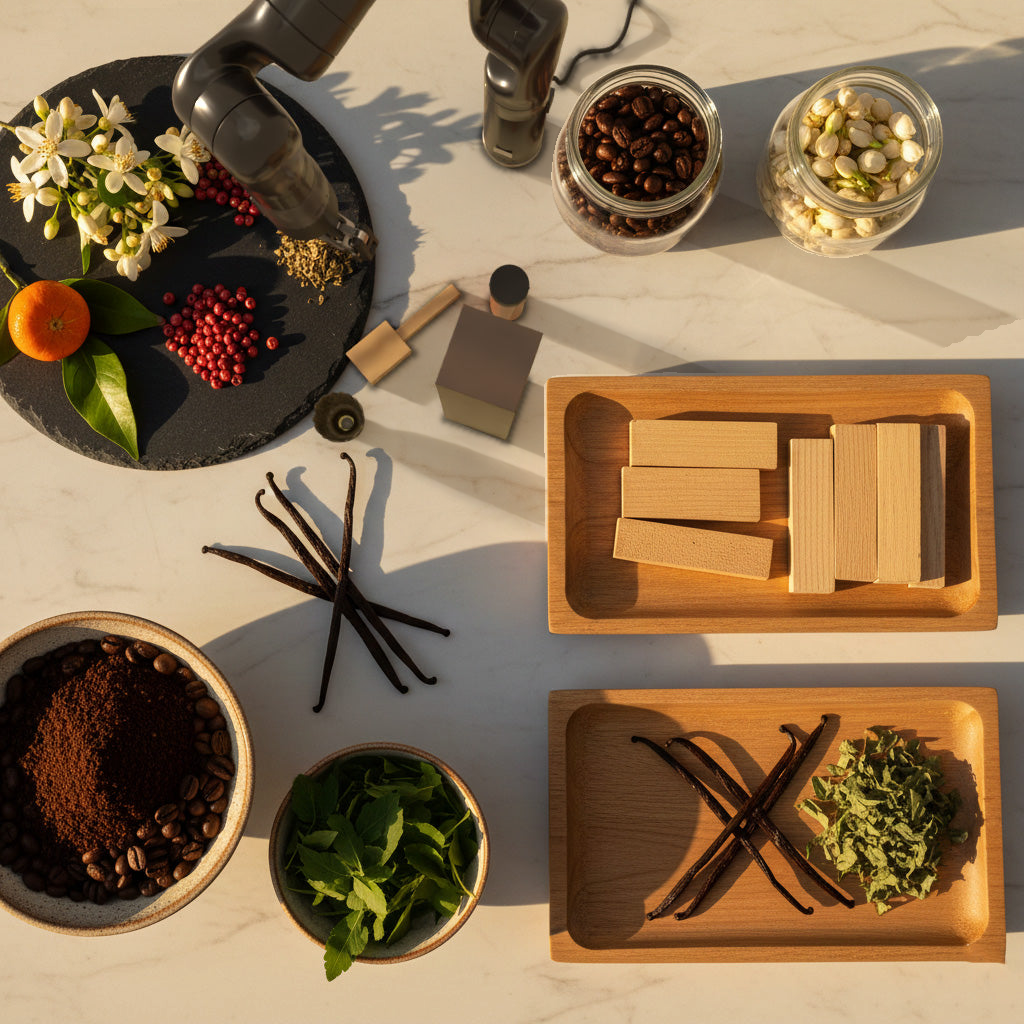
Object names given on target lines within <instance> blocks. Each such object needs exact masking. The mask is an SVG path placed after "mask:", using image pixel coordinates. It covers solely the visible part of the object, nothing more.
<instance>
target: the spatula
mask: <svg viewBox="0 0 1024 1024" xmlns="http://www.w3.org/2000/svg"><path fill="white" fill-rule="evenodd" d="M459 297H461V292H459V290H458V289H457V288H456V286H454V284H452V283H451V284H450V285H448V286H447V287H446V288H444V289H443V290H442V291H441V292H439V294H438V295H436V296H435V297H434V298H433V299H431V300H430V301H429V302H427V303H426V304H425V305H424V306H423V307H422V308H421V309H419V310H418V311H417V312H416V313H414V314H413V315H412V316H411V317H410V318H409V319H408V320H406V321H405V322H404V323H402V325H400V326H399V327H398V328H397V329H394V328H393V327H392V325H390V323H389V322H388V321H387V320H384V321H383V322H382V323H381V324H379V325H378V326H377V327H376V328H374V329H373V330H372V331H371V332H370V333H368V334H367V335H366V336H365V337H363V338H362V339H361V340H360V341H359V342H358V343H357V344H355V345H353V346H352V348H351V349H349V350H348V351H347V352H346V353H345V355H346V356H347V357H348V358H349V360H350V362H352V363H353V364H354V366H355V367H356V368H357V369H358V371H360V373H361V374H362V375H363V376H364V377H365V378H366V380H367V381H368V383H370V384H371V385H372V386H374V385H376V384H377V383H378V382H379V381H381V380H382V379H383V378H384V377H385V376H386V375H388V374H389V373H390V372H391V371H392V370H394V369H395V368H396V367H397V366H398V365H400V364H401V363H402V362H403V361H404V360H406V359H407V358H408V357H409V356H410V355H411V354H413V351H412V349H411V347H410V346H409V345H408V344H407V343H406V342H407V341H408V340H410V338H412V337H413V336H414V335H415V334H416V333H418V332H419V331H420V330H421V329H423V328H424V327H425V326H426V325H427V324H429V323H430V322H431V321H432V320H433V319H435V318H436V317H437V316H438V315H439V314H440V313H442V312H443V311H444V310H445V309H447V308H448V307H449V306H450V305H452V303H454V302H455V301H456V300H457V299H458V298H459Z"/></svg>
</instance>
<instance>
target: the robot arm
mask: <svg viewBox="0 0 1024 1024" xmlns="http://www.w3.org/2000/svg"><path fill="white" fill-rule="evenodd" d="M376 1H377V0H252V1H251V2H250V3H249V5H247V6H246V8H244V9H243V10H242V11H241V12H240V13H238V14H237V15H236V16H235V17H234V18H233V19H232V20H229V22H228V23H227V24H226V25H225V26H223V27H222V28H221V29H220V30H219V31H218V32H217V33H216V34H214V35H213V36H212V37H211V38H209V39H208V40H207V41H205V42H204V43H203V44H201V45H200V46H199V47H197V48H196V50H194V51H193V52H192V53H191V54H190V55H189V56H188V57H187V58H185V60H184V61H183V63H182V64H181V65H180V66H179V68H178V70H177V72H176V74H175V77H174V80H173V85H172V90H171V101H172V107H173V109H174V112H175V114H176V116H177V117H178V119H179V121H181V122H182V124H183V125H184V126H185V127H186V128H187V129H188V130H189V131H190V132H191V134H193V136H195V138H196V139H197V140H198V141H199V142H200V143H201V144H202V145H203V146H204V147H205V149H206V150H208V152H209V153H210V154H211V155H212V156H213V158H215V159H216V160H217V161H218V162H219V163H220V164H221V166H222V167H223V168H224V169H226V171H227V172H228V173H229V174H230V175H231V176H232V177H233V178H234V179H235V180H236V181H237V183H238V184H239V185H240V186H241V187H242V188H243V190H245V192H246V193H247V194H248V195H249V196H250V197H249V201H250V202H251V203H252V204H253V206H254V207H255V208H256V209H257V211H258V212H259V213H260V214H261V215H263V217H264V218H267V219H268V220H269V221H270V222H271V223H272V225H274V226H275V228H276V229H277V230H278V231H280V232H281V233H282V234H283V235H284V236H285V237H288V238H289V239H291V240H295V241H299V242H310V241H314V240H318V241H323V242H325V243H326V244H328V245H329V246H331V247H332V248H334V249H335V250H339V251H346V252H348V253H349V254H350V255H351V257H352V258H353V260H354V261H355V262H358V263H360V264H361V263H362V262H363V261H364V262H365V261H366V262H368V261H370V262H372V261H373V258H374V256H375V253H376V251H377V249H378V246H379V244H380V241H379V239H378V238H377V236H376V235H375V234H374V232H373V230H372V229H371V228H370V227H369V226H368V225H367V223H364V222H358V225H357V227H355V226H356V225H355V223H354V222H353V221H351V220H350V219H348V218H347V217H345V216H344V215H343V214H342V213H340V212H339V202H338V197H337V194H336V191H335V190H334V188H333V186H332V185H331V183H330V182H329V180H328V178H327V177H326V175H325V174H324V172H323V171H322V169H321V167H320V166H319V164H318V163H317V162H316V160H315V159H314V158H313V157H312V156H311V154H309V153H308V151H307V150H306V148H305V147H304V144H303V135H302V133H301V130H300V128H299V127H298V125H297V124H296V123H295V120H294V119H293V118H292V117H291V115H290V114H289V113H288V111H287V110H286V109H285V108H284V107H283V106H282V105H281V103H279V102H278V100H277V99H276V98H275V97H274V96H273V95H272V94H271V92H269V91H268V90H267V89H266V88H265V87H264V85H263V84H261V82H260V81H259V80H258V79H257V78H256V77H257V75H258V74H259V73H260V72H261V71H262V70H263V69H265V68H266V67H268V66H270V65H272V64H275V65H276V66H278V67H279V68H280V69H282V70H283V71H284V72H286V73H287V74H289V75H291V76H292V77H294V78H296V79H298V80H300V81H303V82H306V83H313V82H316V81H318V80H319V79H320V78H321V77H323V75H324V74H325V73H326V72H327V71H328V69H330V66H331V65H332V64H333V62H334V61H335V60H336V57H338V55H339V54H340V53H341V51H342V49H344V47H345V45H346V44H347V43H348V41H349V40H350V39H351V37H352V36H353V34H354V32H355V31H356V30H357V28H358V27H359V25H360V24H361V23H362V21H363V20H364V18H365V17H366V15H367V14H368V12H370V10H371V8H372V7H373V6H374V4H375V3H376ZM637 3H638V0H631V1H630V3H629V5H628V9H627V14H626V17H625V22H624V25H623V28H622V31H621V33H620V35H619V37H618V39H616V41H615V42H614V43H612V44H611V45H610V46H606V47H601V48H599V47H598V48H589V49H585V50H582V51H580V52H579V53H577V54H576V55H575V56H574V57H573V58H572V60H571V61H570V63H569V64H568V67H567V69H566V71H565V73H564V76H563V78H562V79H560V78H559V77H558V76H557V75H555V73H556V71H557V68H558V64H559V62H560V56H561V51H562V48H563V45H564V40H565V38H566V37H565V36H566V34H567V28H568V25H569V10H568V7H567V5H566V4H565V2H564V1H563V0H467V8H468V9H467V10H468V20H469V21H468V22H469V27H470V30H471V32H472V35H473V37H474V38H475V40H476V41H477V42H478V44H480V45H481V46H482V47H483V48H484V49H485V50H486V51H488V53H487V54H486V56H485V60H484V66H483V125H482V126H483V127H482V128H483V129H482V144H483V148H484V150H485V152H486V153H487V156H489V158H490V159H491V160H492V161H493V162H495V163H496V164H497V165H499V166H502V167H505V168H511V169H512V168H521V167H524V166H526V165H528V164H530V163H531V162H533V161H534V160H535V159H536V158H537V157H538V155H539V153H540V151H541V150H542V145H543V141H544V131H545V125H546V119H547V114H549V113H550V110H551V107H552V105H553V102H554V98H555V92H556V88H555V87H552V83H553V82H555V84H556V85H557V86H563V85H564V84H565V83H566V82H567V81H568V79H569V77H570V76H571V74H572V71H573V69H574V67H575V65H576V63H577V62H578V61H579V60H580V59H581V58H582V57H585V56H587V55H598V54H606V53H610V52H612V51H614V50H615V49H617V47H618V46H620V45H621V43H622V42H623V41H624V39H625V37H626V35H627V33H628V30H629V27H630V23H631V19H632V15H633V11H634V8H635V5H636V4H637ZM334 238H337V239H336V240H335V239H334ZM350 239H351V241H350ZM349 242H350V244H349Z"/></svg>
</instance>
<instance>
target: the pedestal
mask: <svg viewBox="0 0 1024 1024" xmlns="http://www.w3.org/2000/svg"><path fill="white" fill-rule="evenodd" d="M458 315H459V316H458V318H457V322H456V323H455V326H454V329H453V332H452V335H451V337H450V340H449V342H448V346H447V348H446V352H445V354H444V358H443V360H442V363H441V365H440V367H439V371H438V374H437V375H436V378H435V379H436V380H435V381H434V385H435V388H436V393H437V395H438V398H439V400H440V404H441V405H440V406H441V407H442V411H443V414H444V418H445V419H447V420H449V421H453V422H455V423H458V424H460V425H464V426H466V427H469V428H472V429H474V430H476V431H479V432H483V433H484V434H485V433H486V434H488V435H491V436H493V437H497V438H499V439H502V440H505V441H506V440H507V438H508V436H509V432H510V430H511V428H512V425H513V422H514V419H515V415H516V413H517V411H518V407H519V405H520V402H521V399H522V397H523V394H524V391H525V387H526V385H527V382H528V379H529V377H530V375H531V371H532V369H533V365H534V363H535V359H536V356H537V354H538V351H539V347H540V346H541V342H542V340H543V336H544V332H541V331H539V330H536V329H533V328H531V327H528V326H525V325H523V324H520V323H516V322H514V321H513V320H512V321H509V320H506V319H503V318H501V317H498V316H495V315H494V314H493V313H490V312H487V311H484V310H481V309H479V308H476V307H473V306H471V305H467V304H465V303H463V305H462V307H461V310H460V312H459V314H458Z"/></svg>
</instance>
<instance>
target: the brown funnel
mask: <svg viewBox="0 0 1024 1024" xmlns="http://www.w3.org/2000/svg"><path fill="white" fill-rule="evenodd" d="M313 408H314V413H313V414H314V415H313V416H312V422H313V427H314V429H315V431H316V432H317V433H318V434H319V435H321V438H323V439H324V440H328V442H330V443H336V444H337V443H338V444H339V443H347V442H350V441H353V440H355V439H356V438H358V437H359V435H360V434H361V433H362V432H363V430H364V427H365V422H366V418H365V412H364V408H363V405H362V404H361V402H359V400H358V399H357V397H356V396H353V395H352V394H349V393H348V392H345V391H338V392H335V391H331V392H330V394H324V395H322V396H321V397H320V398H319V400H318V401H317V402H315V404H314V407H313ZM346 419H349V420H350V421H351V426H350V427H349V428H345V427H344V426H343V421H344V420H346Z"/></svg>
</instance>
